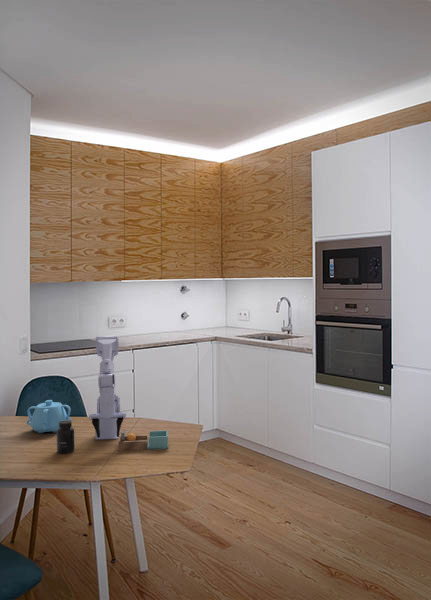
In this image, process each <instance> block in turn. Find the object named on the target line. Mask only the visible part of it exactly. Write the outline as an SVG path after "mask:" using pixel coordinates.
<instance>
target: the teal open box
mask: <svg viewBox="0 0 431 600" xmlns="http://www.w3.org/2000/svg"><path fill="white" fill-rule="evenodd" d="M147 441H148V444H147V450H148V451H149V450H151V451H152V450H167V449H169V430H149V436H148V440H147Z"/></svg>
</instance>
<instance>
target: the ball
mask: <svg viewBox="0 0 431 600" xmlns="http://www.w3.org/2000/svg"><path fill="white" fill-rule="evenodd" d="M126 436H127V440H128V441H135V439H136V436H135V433H128V435H126Z"/></svg>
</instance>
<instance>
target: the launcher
mask: <svg viewBox="0 0 431 600" xmlns="http://www.w3.org/2000/svg"><path fill="white" fill-rule="evenodd" d="M134 435H135V434H134ZM127 436H128V435H126V441H121V435H119V437H120V438H119V439H120V440H119V441H118V443H117V444H118V452H123V451H125V452H126V451H127V452H128V451H144V450H145V451H146V450H148V441H149V440H148V434H138V435H137V434H136V435H135V436H136V439H135V441H128V440H127Z"/></svg>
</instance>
